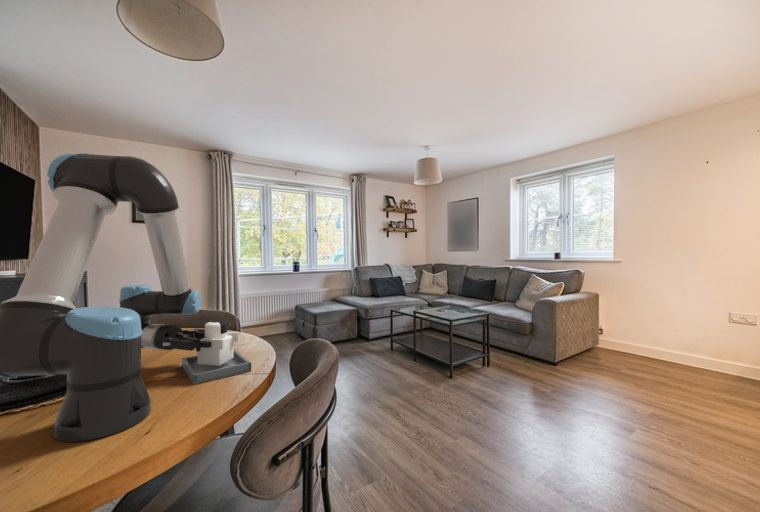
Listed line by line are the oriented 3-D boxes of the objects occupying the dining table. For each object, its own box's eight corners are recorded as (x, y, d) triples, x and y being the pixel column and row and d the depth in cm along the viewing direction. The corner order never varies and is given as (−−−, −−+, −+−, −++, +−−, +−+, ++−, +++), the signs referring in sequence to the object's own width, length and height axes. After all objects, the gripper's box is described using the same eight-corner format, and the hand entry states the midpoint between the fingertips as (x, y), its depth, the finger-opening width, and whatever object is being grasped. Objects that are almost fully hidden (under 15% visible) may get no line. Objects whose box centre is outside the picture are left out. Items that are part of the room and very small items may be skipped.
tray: (251, 371, 93) (251, 362, 93) (193, 384, 83) (193, 375, 83) (233, 356, 106) (233, 348, 106) (181, 366, 96) (181, 358, 96)
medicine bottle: (213, 356, 99) (213, 318, 99) (234, 358, 98) (234, 319, 98) (196, 364, 92) (197, 323, 91) (219, 366, 91) (219, 324, 90)
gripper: (186, 339, 107) (249, 343, 104) (133, 359, 87) (208, 365, 84) (186, 318, 107) (249, 320, 104) (133, 333, 87) (208, 337, 84)
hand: (231, 340), depth 94 cm, fingers closed on medicine bottle, 7 cm apart
